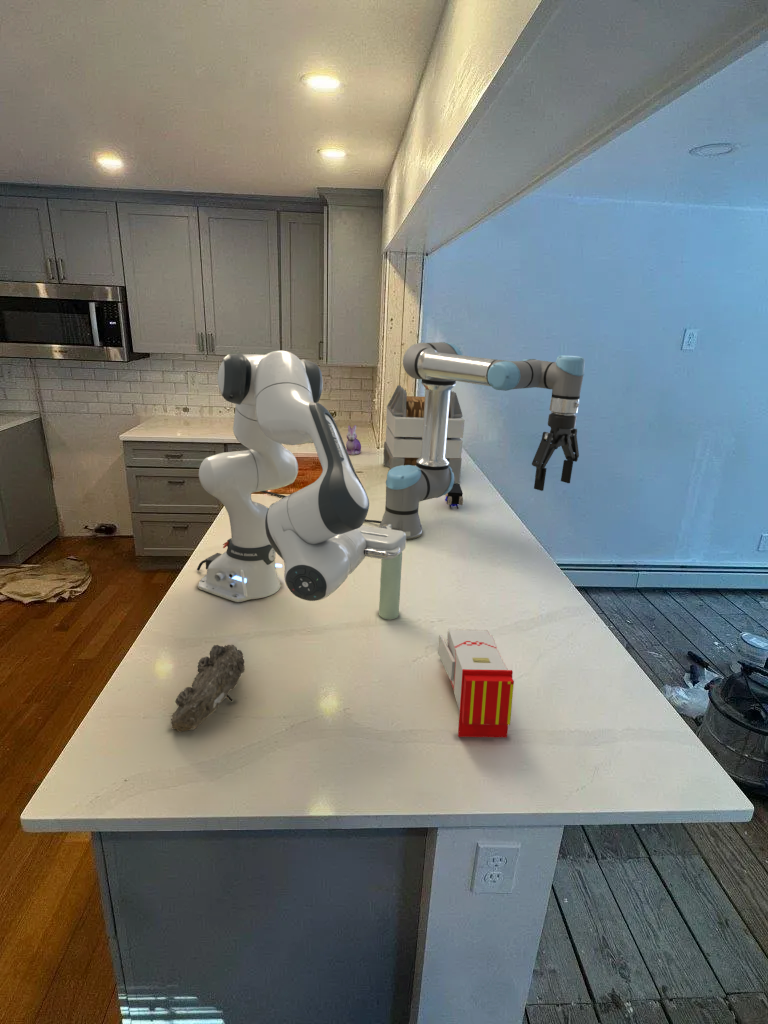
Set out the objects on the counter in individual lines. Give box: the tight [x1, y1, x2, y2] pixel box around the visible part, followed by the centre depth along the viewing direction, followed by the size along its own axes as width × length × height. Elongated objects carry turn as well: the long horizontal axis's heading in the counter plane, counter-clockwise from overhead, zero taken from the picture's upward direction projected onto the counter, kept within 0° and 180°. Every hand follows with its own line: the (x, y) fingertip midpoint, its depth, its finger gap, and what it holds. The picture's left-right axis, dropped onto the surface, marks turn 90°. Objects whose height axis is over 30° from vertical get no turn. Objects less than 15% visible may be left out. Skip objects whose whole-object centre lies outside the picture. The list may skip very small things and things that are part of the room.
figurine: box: [345, 424, 362, 456], centre depth 304 cm, size 9×10×15 cm
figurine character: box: [444, 483, 464, 510], centre depth 231 cm, size 7×8×15 cm
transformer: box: [383, 384, 465, 484], centre depth 268 cm, size 34×33×41 cm
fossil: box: [170, 644, 246, 733], centre depth 111 cm, size 22×10×15 cm
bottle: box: [378, 551, 403, 620], centre depth 143 cm, size 5×5×23 cm
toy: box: [437, 628, 515, 738], centre depth 117 cm, size 12×13×30 cm
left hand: (366, 524), depth 118 cm, fingers open, 8 cm apart
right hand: (552, 485), depth 166 cm, fingers open, 13 cm apart
